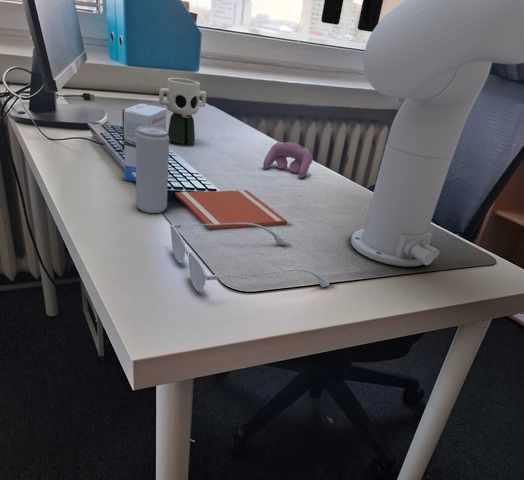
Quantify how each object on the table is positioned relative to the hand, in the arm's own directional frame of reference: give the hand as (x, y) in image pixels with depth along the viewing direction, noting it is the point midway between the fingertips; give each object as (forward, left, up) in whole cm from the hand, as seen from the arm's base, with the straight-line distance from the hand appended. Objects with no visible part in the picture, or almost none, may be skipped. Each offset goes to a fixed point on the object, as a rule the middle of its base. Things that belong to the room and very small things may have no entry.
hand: (347, 27), depth 79 cm
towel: (0, +17, -28) cm, 33 cm away
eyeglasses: (-21, +24, -28) cm, 43 cm away
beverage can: (+2, +30, -28) cm, 41 cm away
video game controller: (+20, -6, -28) cm, 35 cm away
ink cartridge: (+34, +24, -28) cm, 50 cm away
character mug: (+42, +10, -28) cm, 52 cm away
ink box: (+18, +26, -28) cm, 43 cm away
